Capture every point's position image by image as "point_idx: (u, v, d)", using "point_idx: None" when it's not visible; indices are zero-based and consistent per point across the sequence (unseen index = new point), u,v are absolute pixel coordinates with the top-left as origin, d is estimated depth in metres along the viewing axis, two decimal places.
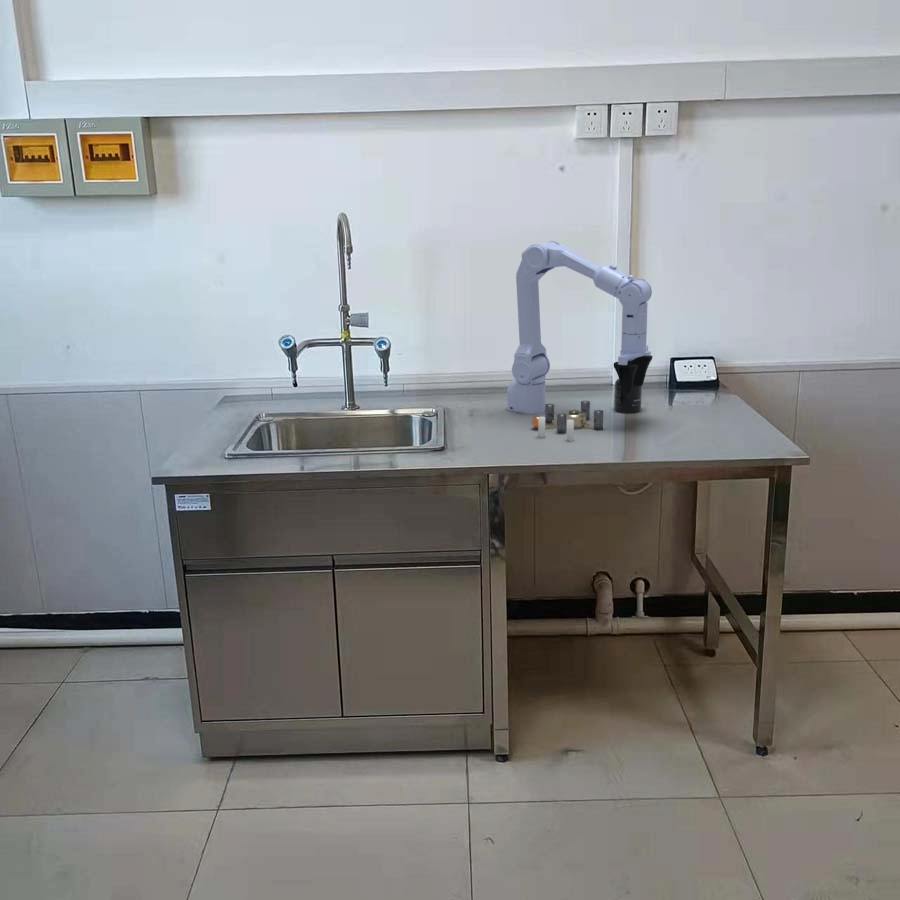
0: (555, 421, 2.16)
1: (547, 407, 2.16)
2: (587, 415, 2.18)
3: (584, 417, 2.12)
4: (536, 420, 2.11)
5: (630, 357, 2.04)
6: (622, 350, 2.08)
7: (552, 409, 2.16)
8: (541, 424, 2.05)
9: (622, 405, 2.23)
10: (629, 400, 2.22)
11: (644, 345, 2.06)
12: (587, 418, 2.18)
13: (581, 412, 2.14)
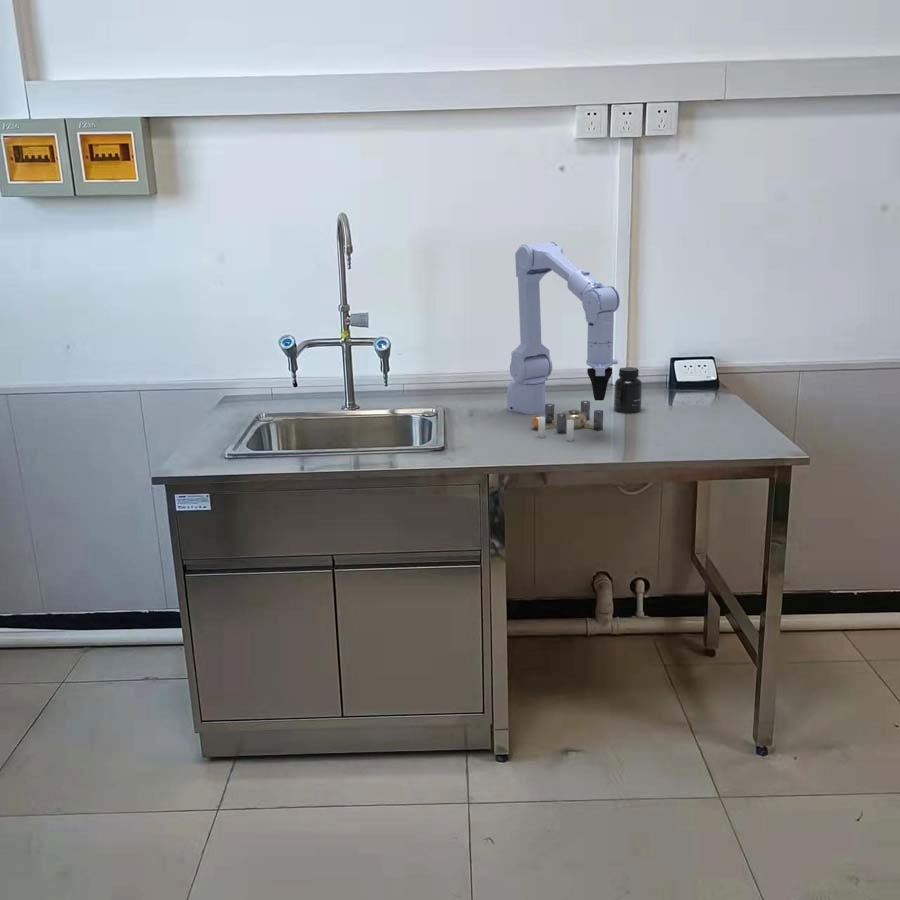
0: (555, 421, 2.16)
1: (547, 407, 2.16)
2: (587, 415, 2.18)
3: (584, 417, 2.12)
4: (536, 420, 2.11)
5: (606, 367, 1.96)
6: (591, 361, 1.99)
7: (552, 409, 2.16)
8: (541, 424, 2.05)
9: (622, 405, 2.23)
10: (629, 400, 2.22)
11: (612, 354, 2.00)
12: (587, 418, 2.18)
13: (581, 412, 2.14)
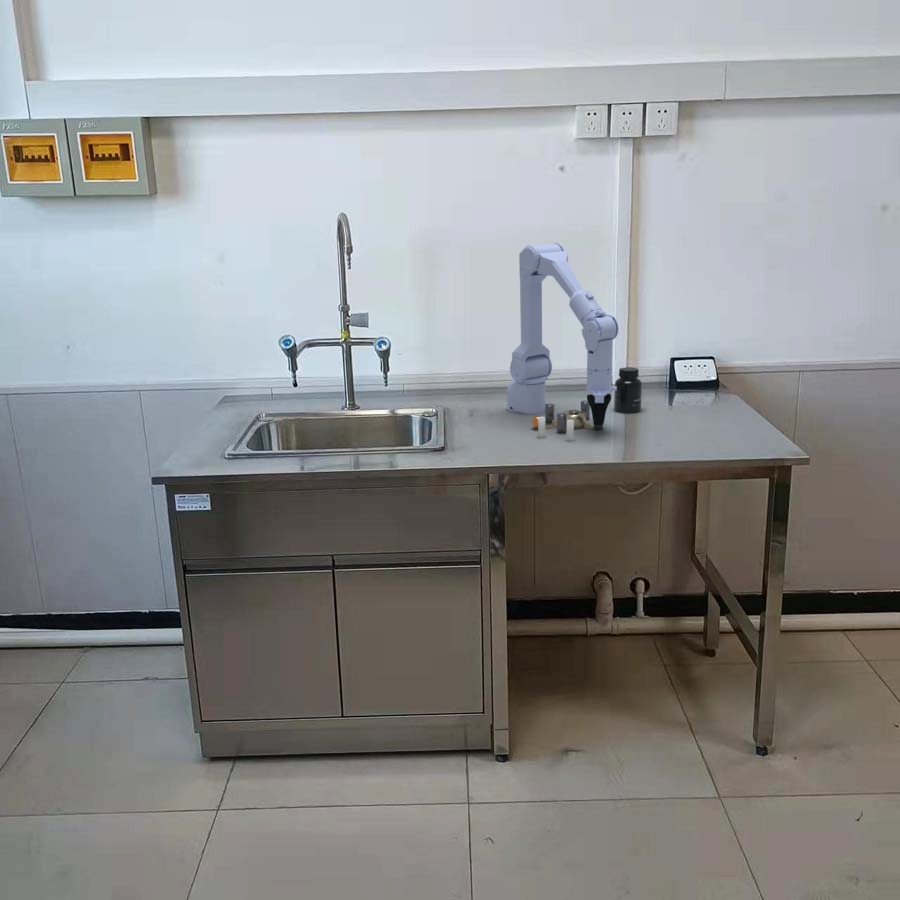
0: (555, 421, 2.16)
1: (547, 407, 2.16)
2: (587, 415, 2.18)
3: (584, 417, 2.12)
4: (536, 420, 2.11)
5: (605, 394, 2.01)
6: (590, 387, 2.04)
7: (552, 409, 2.16)
8: (541, 424, 2.05)
9: (622, 405, 2.23)
10: (629, 400, 2.22)
11: (611, 380, 2.04)
12: (587, 418, 2.18)
13: (581, 412, 2.14)
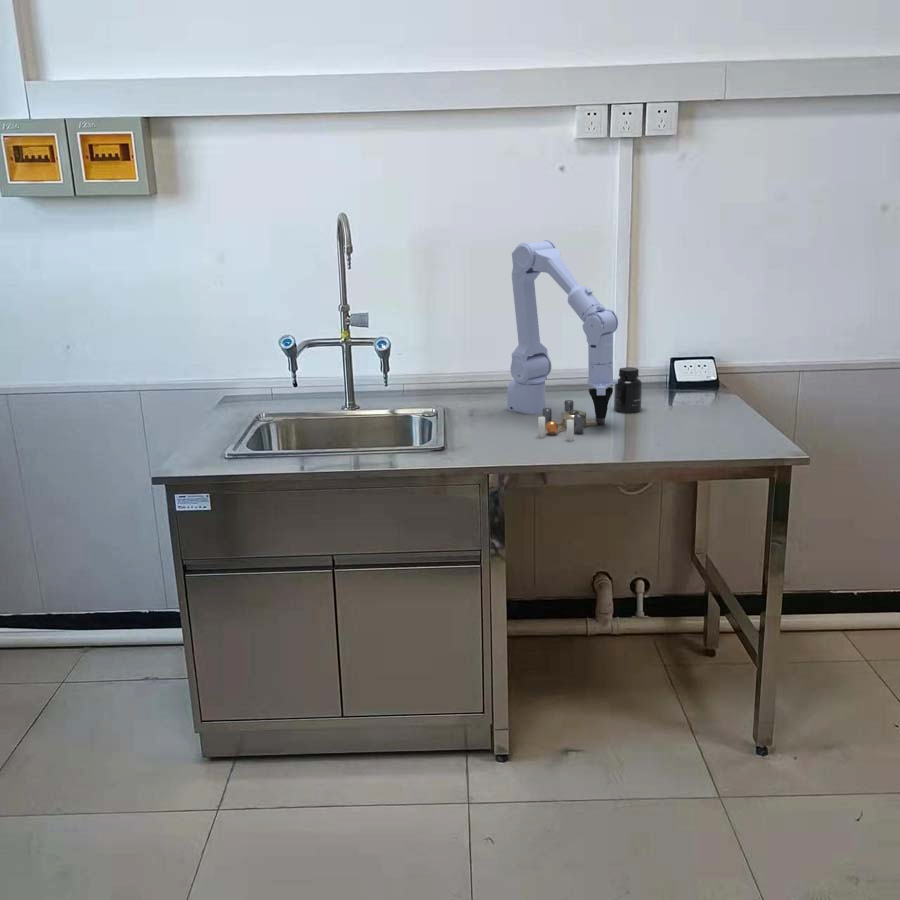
0: None
1: (547, 412, 2.12)
2: None
3: None
4: (553, 425, 2.06)
5: (606, 387, 2.05)
6: (592, 381, 2.08)
7: (551, 413, 2.13)
8: (541, 424, 2.05)
9: (622, 405, 2.23)
10: (629, 400, 2.22)
11: (612, 374, 2.08)
12: None
13: None
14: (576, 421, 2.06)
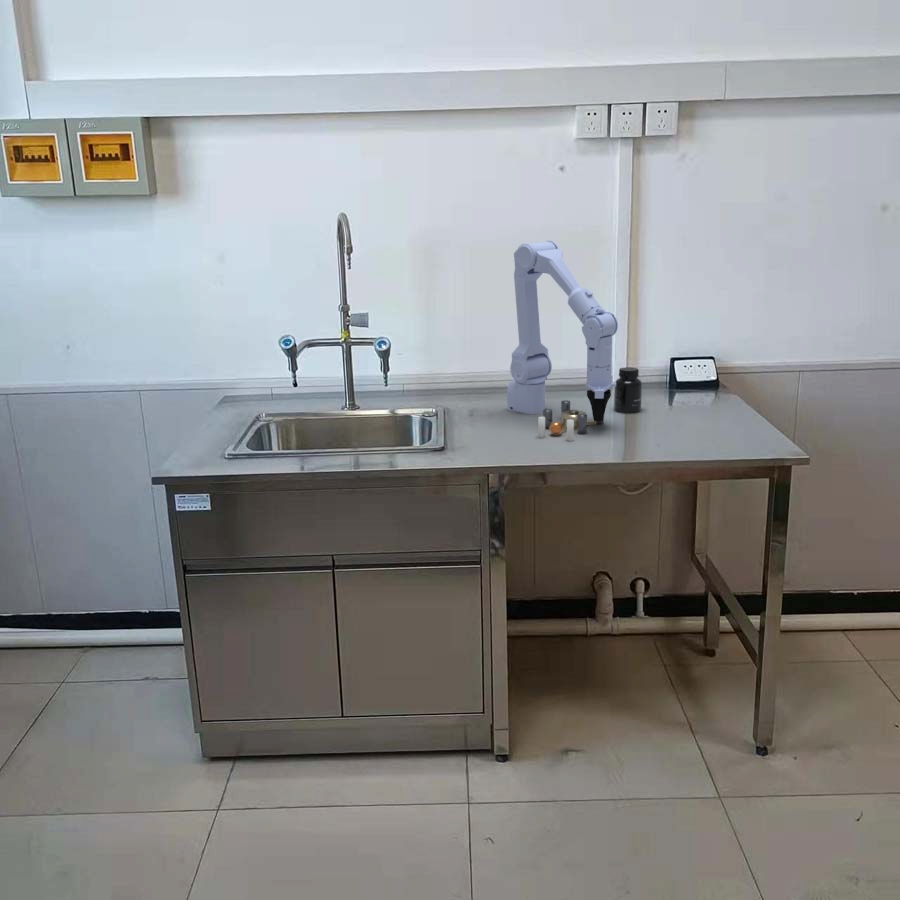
0: None
1: (548, 412, 2.11)
2: None
3: None
4: (558, 426, 2.06)
5: (604, 390, 2.04)
6: (590, 383, 2.08)
7: None
8: (541, 424, 2.05)
9: (622, 405, 2.23)
10: (629, 400, 2.22)
11: None
12: None
13: None
14: (580, 421, 2.06)
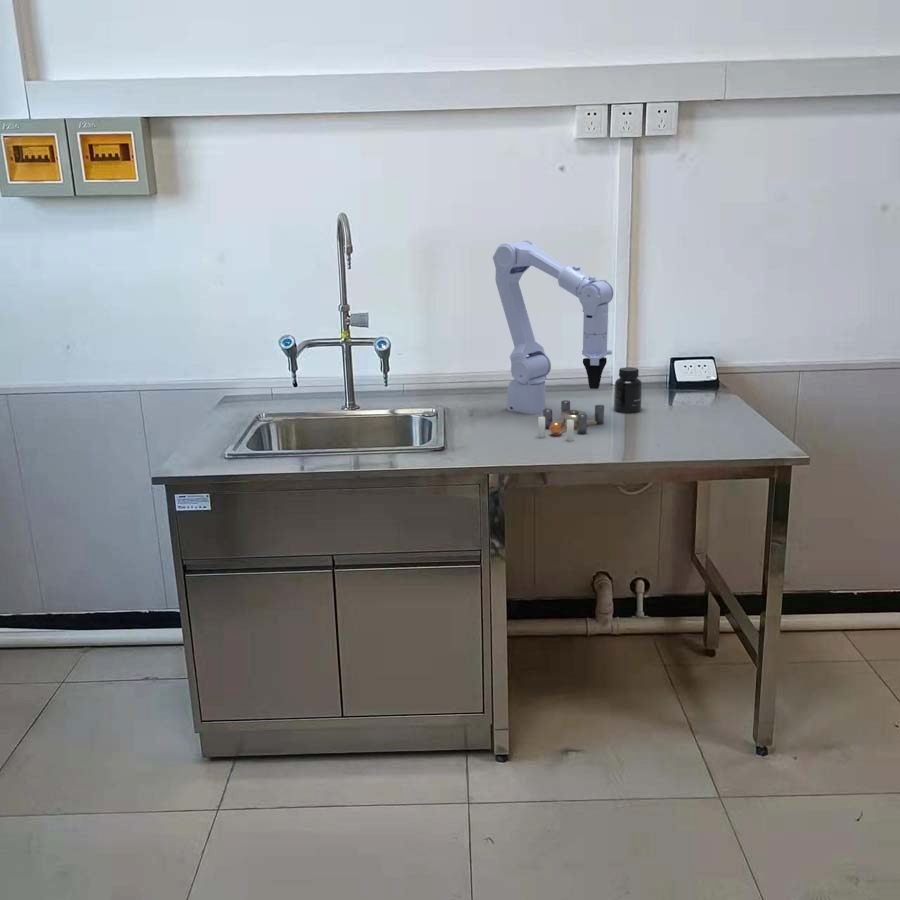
0: None
1: (548, 412, 2.11)
2: None
3: None
4: (558, 426, 2.06)
5: (600, 357, 2.06)
6: (586, 351, 2.10)
7: None
8: (541, 424, 2.05)
9: (622, 405, 2.23)
10: (629, 400, 2.22)
11: (606, 344, 2.10)
12: None
13: None
14: (580, 421, 2.06)
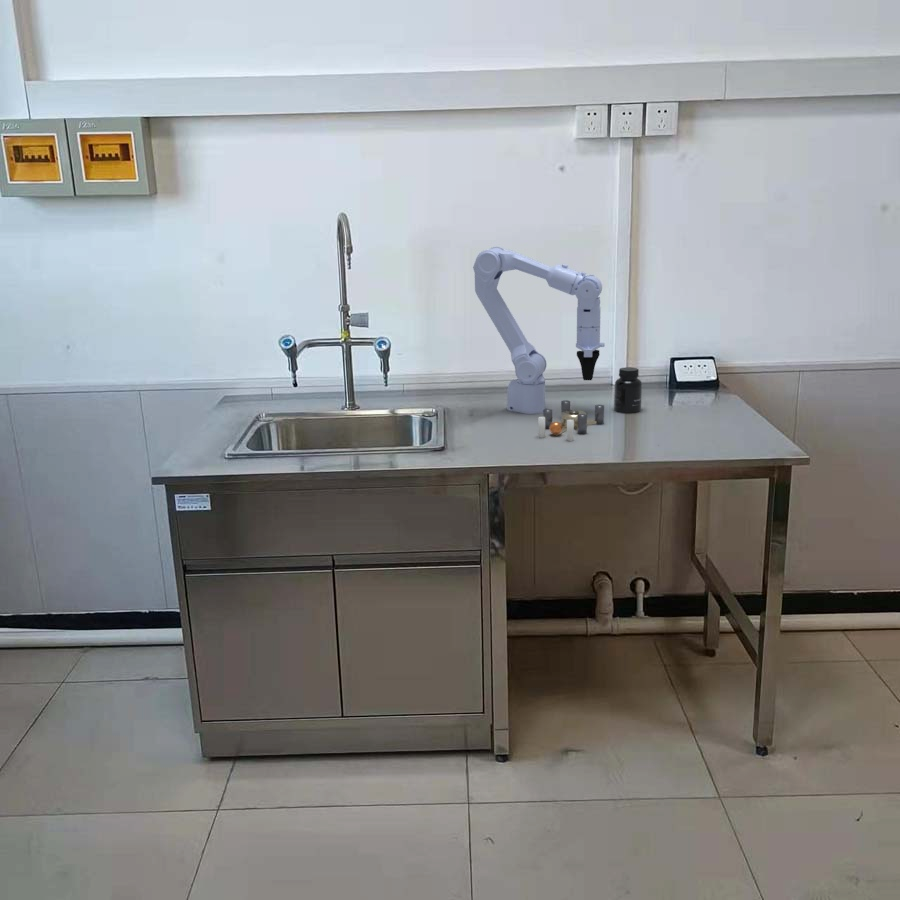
0: None
1: (548, 412, 2.11)
2: None
3: None
4: (558, 426, 2.06)
5: (593, 349, 2.14)
6: (579, 343, 2.18)
7: None
8: (541, 424, 2.05)
9: (622, 405, 2.23)
10: (629, 400, 2.22)
11: (599, 337, 2.18)
12: None
13: None
14: (580, 421, 2.06)
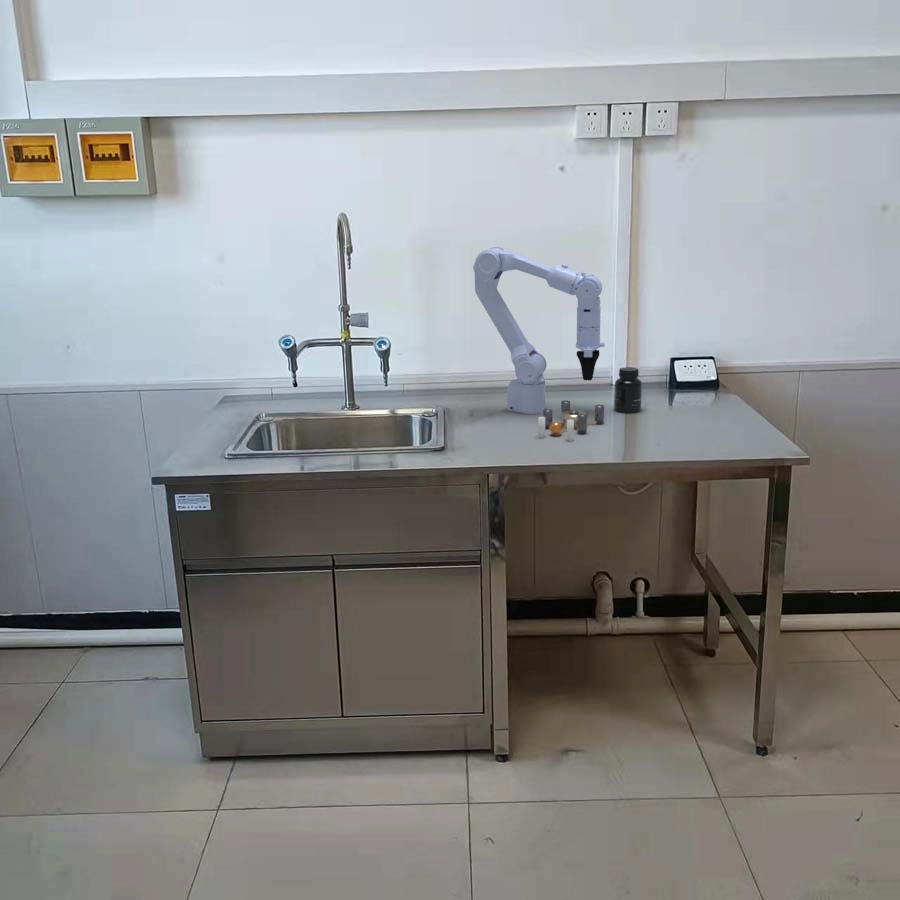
0: None
1: (548, 412, 2.11)
2: None
3: None
4: (558, 426, 2.06)
5: (593, 349, 2.14)
6: (579, 343, 2.18)
7: None
8: (541, 424, 2.05)
9: (622, 405, 2.23)
10: (629, 400, 2.22)
11: (599, 337, 2.18)
12: None
13: None
14: (580, 421, 2.06)
